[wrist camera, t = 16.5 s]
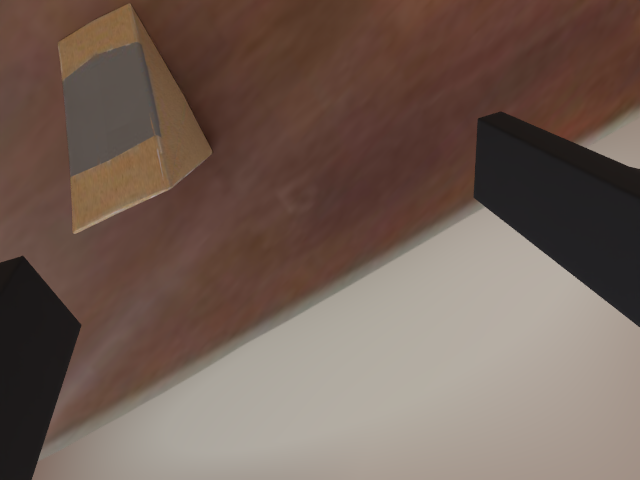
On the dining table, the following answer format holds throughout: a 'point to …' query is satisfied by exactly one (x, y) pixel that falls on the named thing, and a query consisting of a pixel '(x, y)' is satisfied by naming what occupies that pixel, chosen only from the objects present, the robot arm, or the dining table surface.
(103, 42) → the sandwich container
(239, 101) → the dining table surface
